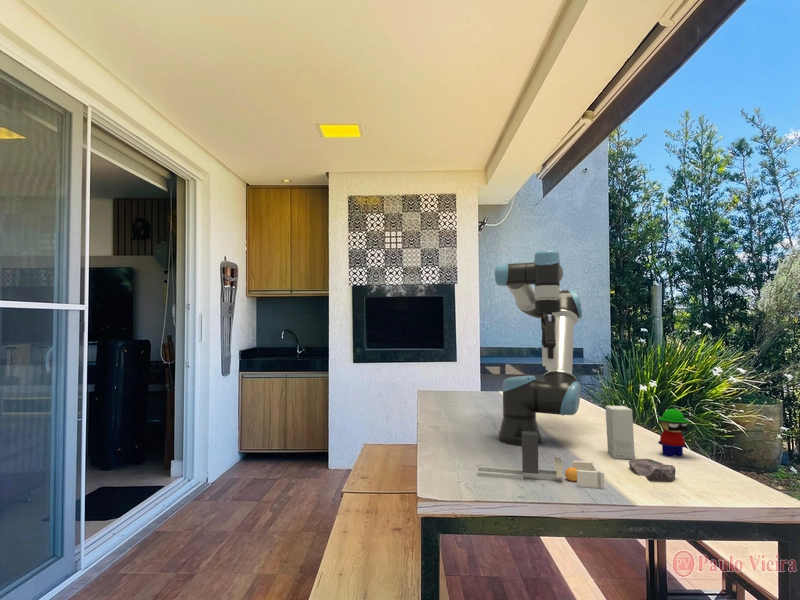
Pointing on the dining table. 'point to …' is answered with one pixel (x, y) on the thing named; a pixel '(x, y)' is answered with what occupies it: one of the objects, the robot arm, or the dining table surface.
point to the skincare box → (620, 432)
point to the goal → (589, 474)
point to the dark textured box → (532, 460)
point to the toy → (673, 433)
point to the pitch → (500, 475)
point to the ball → (571, 474)
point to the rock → (652, 469)
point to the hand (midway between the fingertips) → (548, 368)
